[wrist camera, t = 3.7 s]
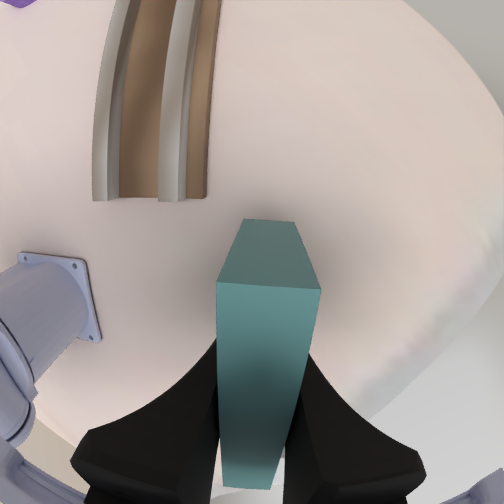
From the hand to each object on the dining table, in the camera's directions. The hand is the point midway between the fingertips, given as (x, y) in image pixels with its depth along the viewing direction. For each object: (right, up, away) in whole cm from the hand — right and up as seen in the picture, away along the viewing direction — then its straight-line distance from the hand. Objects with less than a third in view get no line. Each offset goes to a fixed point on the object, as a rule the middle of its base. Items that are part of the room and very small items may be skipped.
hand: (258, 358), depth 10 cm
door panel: (0, +1, +2) cm, 2 cm away
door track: (-7, +16, +4) cm, 18 cm away
